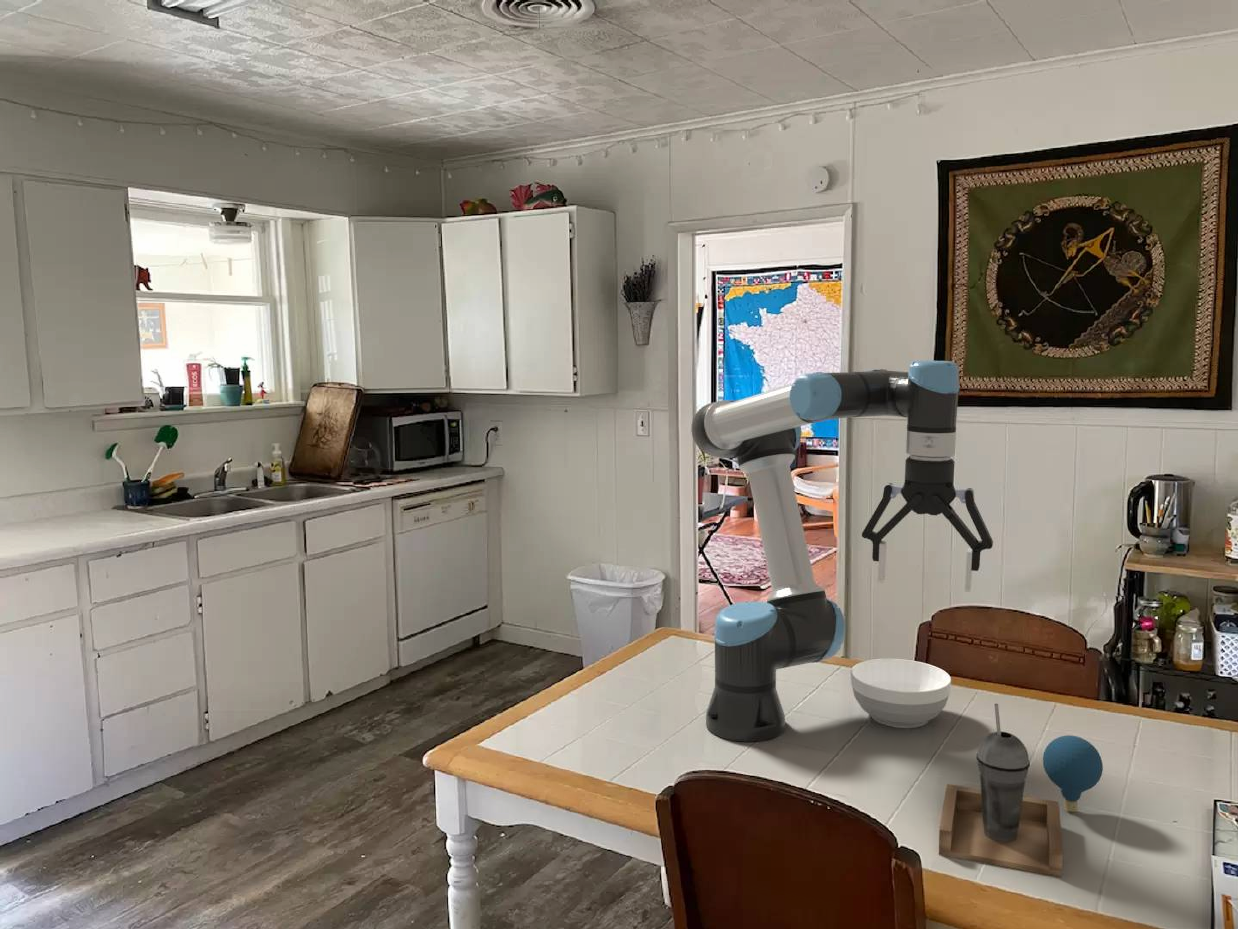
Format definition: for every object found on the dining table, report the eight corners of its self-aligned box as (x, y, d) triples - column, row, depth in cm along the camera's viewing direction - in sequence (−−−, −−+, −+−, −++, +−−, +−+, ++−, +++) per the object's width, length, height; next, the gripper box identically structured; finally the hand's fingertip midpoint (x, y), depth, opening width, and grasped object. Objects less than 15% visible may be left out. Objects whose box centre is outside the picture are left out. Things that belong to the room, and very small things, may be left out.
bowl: (842, 729, 179) (843, 685, 178) (857, 694, 196) (857, 654, 195) (947, 743, 172) (948, 697, 171) (952, 706, 189) (953, 664, 188)
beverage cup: (1032, 850, 134) (1037, 715, 131) (978, 845, 135) (982, 712, 133) (1021, 824, 141) (1026, 696, 138) (970, 820, 142) (974, 693, 140)
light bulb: (1030, 799, 150) (1033, 728, 148) (1080, 797, 151) (1083, 725, 149) (1059, 826, 142) (1062, 750, 140) (1112, 823, 142) (1116, 748, 141)
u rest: (938, 854, 134) (939, 829, 134) (946, 806, 148) (946, 784, 148) (1061, 877, 128) (1062, 851, 128) (1057, 825, 142) (1058, 801, 141)
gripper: (847, 456, 152) (843, 582, 155) (1013, 464, 142) (1005, 599, 146) (855, 450, 159) (850, 571, 162) (1014, 458, 149) (1006, 587, 152)
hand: (923, 585), depth 154 cm, fingers open, 13 cm apart
